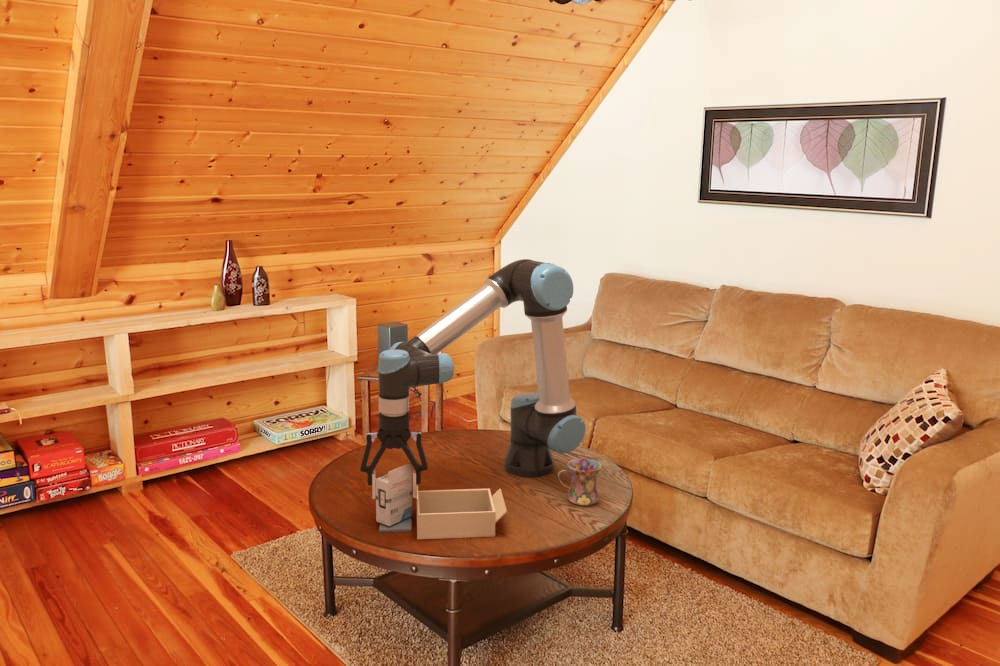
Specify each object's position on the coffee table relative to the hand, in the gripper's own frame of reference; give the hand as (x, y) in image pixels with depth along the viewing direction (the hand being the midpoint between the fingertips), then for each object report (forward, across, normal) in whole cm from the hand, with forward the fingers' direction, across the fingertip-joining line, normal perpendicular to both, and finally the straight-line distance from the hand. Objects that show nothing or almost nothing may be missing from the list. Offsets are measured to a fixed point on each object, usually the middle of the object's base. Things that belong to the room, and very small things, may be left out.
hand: (394, 496), depth 208 cm
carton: (+7, -17, +2) cm, 18 cm away
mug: (+7, -50, -9) cm, 51 cm away
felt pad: (+7, 0, 0) cm, 7 cm away
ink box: (+6, 0, 0) cm, 6 cm away
